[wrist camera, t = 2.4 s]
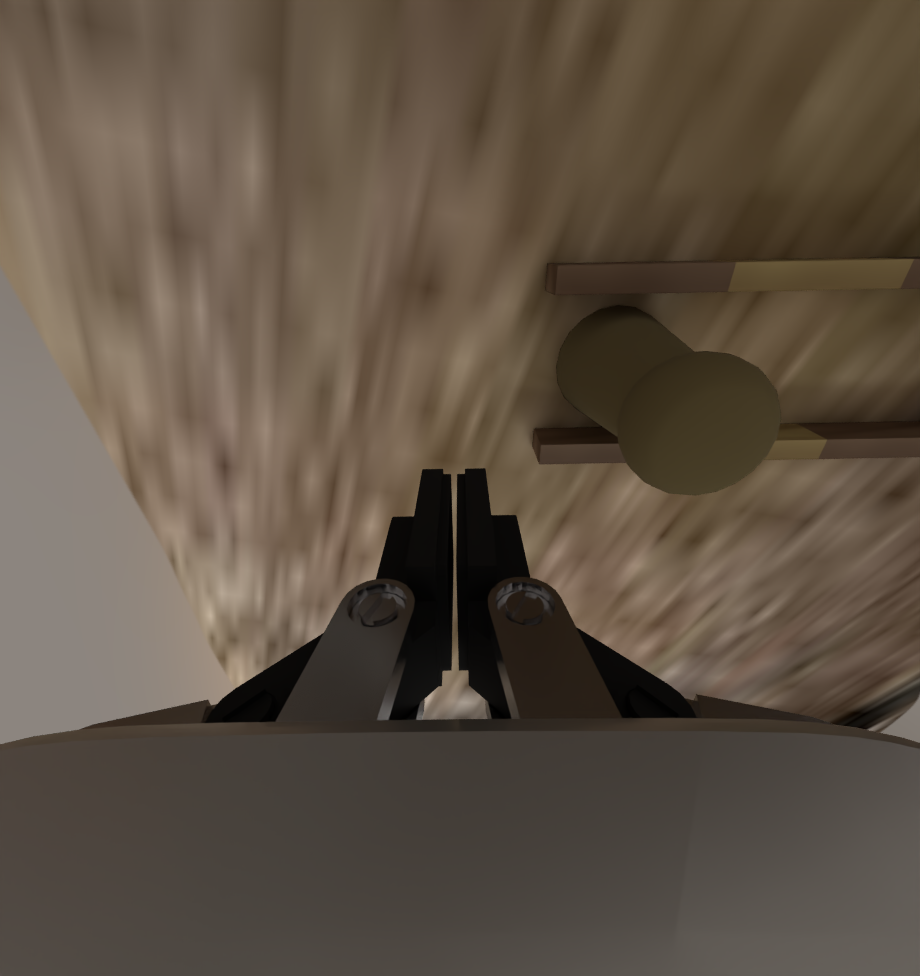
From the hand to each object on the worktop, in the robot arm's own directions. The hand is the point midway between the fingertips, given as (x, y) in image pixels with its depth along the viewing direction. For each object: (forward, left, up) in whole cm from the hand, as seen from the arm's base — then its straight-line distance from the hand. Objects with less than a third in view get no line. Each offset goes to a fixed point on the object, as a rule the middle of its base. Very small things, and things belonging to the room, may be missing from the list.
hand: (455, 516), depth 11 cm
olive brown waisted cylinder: (-1, +9, -14) cm, 17 cm away
